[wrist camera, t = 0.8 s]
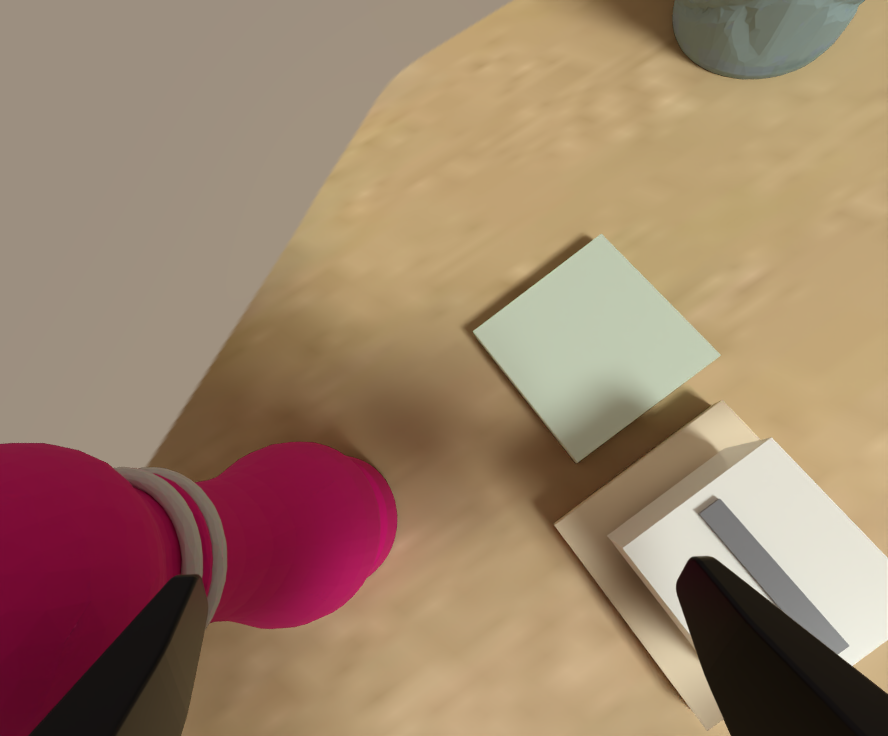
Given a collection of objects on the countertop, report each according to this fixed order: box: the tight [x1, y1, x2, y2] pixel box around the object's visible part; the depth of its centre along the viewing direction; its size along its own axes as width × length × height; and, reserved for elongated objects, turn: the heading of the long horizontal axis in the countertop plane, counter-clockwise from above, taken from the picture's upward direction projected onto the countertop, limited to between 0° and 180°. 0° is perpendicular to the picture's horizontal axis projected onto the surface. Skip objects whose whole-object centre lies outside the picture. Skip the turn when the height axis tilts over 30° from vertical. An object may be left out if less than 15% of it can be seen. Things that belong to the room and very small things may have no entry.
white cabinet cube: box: [607, 437, 888, 666], centre depth 17 cm, size 6×6×5 cm
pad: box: [473, 234, 721, 464], centre depth 24 cm, size 8×8×1 cm
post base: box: [554, 400, 760, 731], centre depth 19 cm, size 9×9×6 cm
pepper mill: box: [0, 442, 397, 736], centre depth 15 cm, size 7×7×20 cm
